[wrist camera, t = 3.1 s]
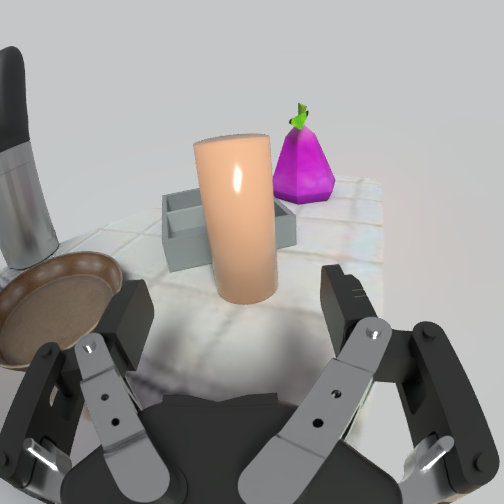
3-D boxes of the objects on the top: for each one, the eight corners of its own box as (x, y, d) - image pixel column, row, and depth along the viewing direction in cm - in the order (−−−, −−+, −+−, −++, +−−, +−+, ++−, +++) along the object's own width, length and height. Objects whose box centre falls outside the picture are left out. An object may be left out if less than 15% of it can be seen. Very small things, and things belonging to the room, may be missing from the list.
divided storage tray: (169, 272, 30) (162, 242, 28) (166, 217, 43) (162, 195, 41) (296, 244, 32) (295, 215, 31) (255, 199, 46) (253, 178, 44)
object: (156, 341, 22) (144, 312, 20) (-11, 411, 13) (-32, 388, 12) (112, 256, 34) (105, 235, 33) (1, 305, 26) (-10, 285, 25)
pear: (258, 192, 49) (250, 104, 42) (310, 180, 53) (307, 101, 46) (295, 212, 40) (290, 104, 33) (352, 197, 44) (352, 103, 37)
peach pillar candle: (223, 310, 24) (197, 150, 17) (212, 275, 29) (190, 141, 22) (287, 294, 25) (281, 139, 19) (266, 262, 30) (256, 131, 23)
